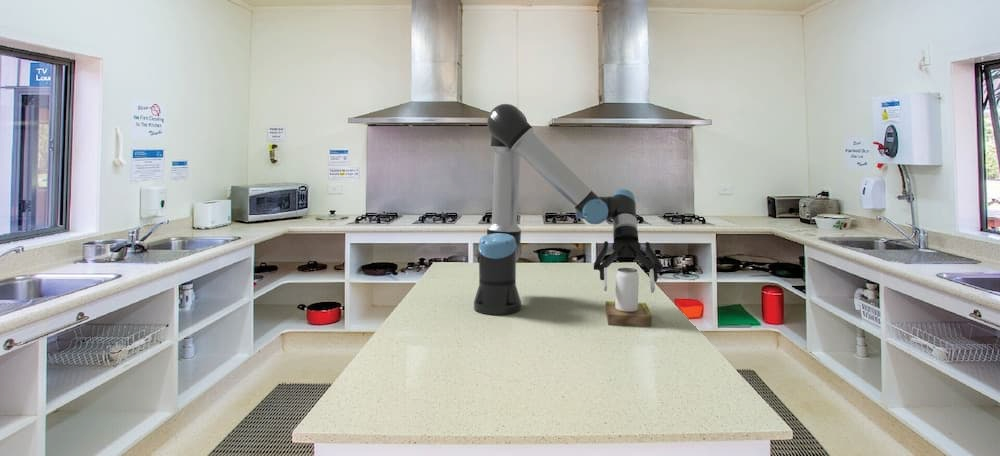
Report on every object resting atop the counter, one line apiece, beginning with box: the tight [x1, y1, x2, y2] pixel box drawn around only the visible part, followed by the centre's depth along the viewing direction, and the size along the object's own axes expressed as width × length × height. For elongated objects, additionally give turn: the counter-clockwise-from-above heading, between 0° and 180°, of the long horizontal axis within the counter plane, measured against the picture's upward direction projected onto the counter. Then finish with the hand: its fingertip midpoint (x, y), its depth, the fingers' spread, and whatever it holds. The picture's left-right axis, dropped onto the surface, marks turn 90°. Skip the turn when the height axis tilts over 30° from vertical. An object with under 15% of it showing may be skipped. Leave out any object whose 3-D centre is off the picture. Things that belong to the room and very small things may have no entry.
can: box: [614, 267, 640, 312], centre depth 147 cm, size 6×6×12 cm
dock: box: [605, 301, 653, 328], centre depth 148 cm, size 12×12×4 cm
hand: (629, 289), depth 145 cm, fingers open, 13 cm apart
